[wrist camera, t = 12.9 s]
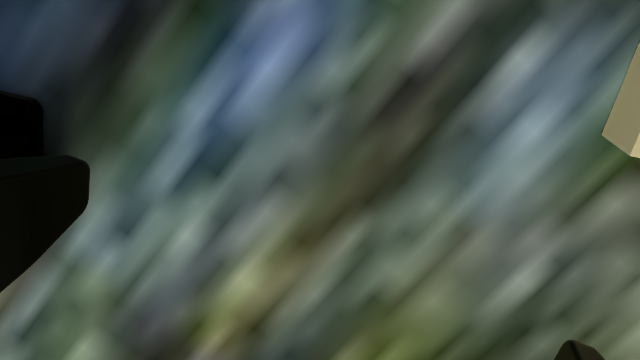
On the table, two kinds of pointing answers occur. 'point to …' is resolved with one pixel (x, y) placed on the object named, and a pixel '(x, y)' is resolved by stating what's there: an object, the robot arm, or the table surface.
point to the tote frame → (627, 112)
